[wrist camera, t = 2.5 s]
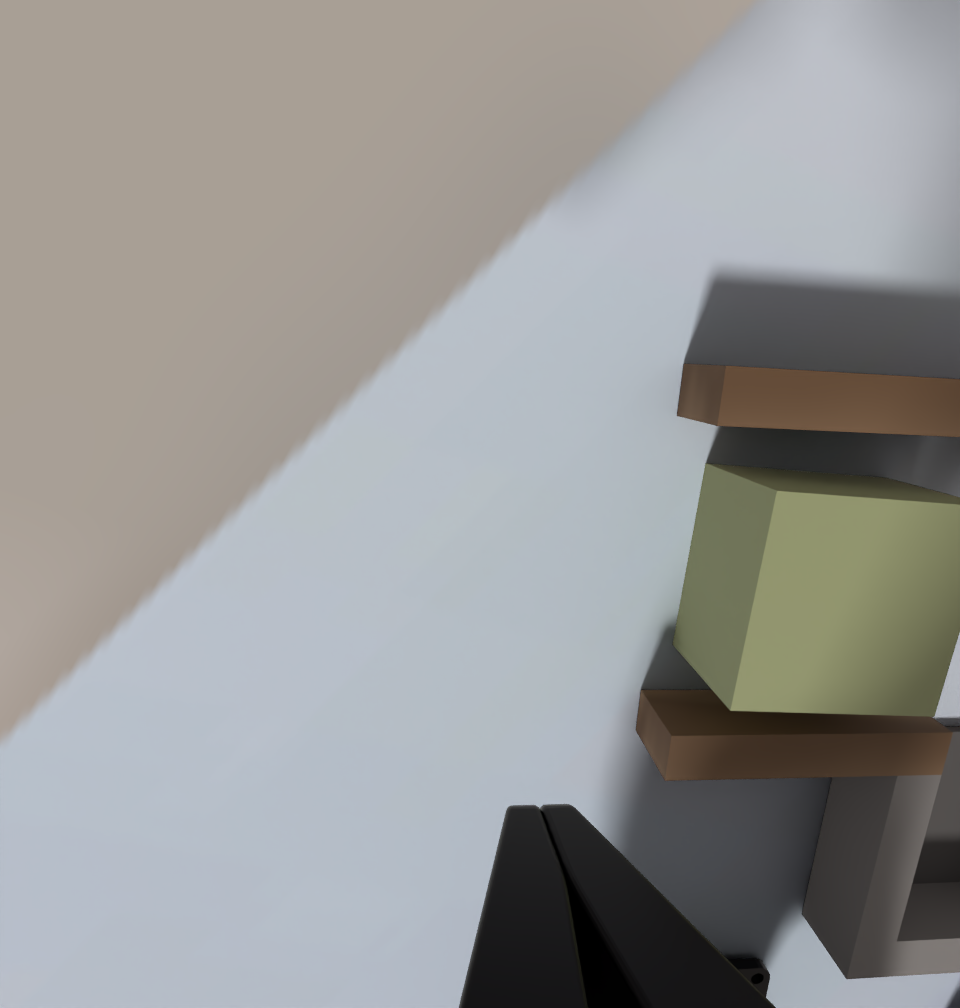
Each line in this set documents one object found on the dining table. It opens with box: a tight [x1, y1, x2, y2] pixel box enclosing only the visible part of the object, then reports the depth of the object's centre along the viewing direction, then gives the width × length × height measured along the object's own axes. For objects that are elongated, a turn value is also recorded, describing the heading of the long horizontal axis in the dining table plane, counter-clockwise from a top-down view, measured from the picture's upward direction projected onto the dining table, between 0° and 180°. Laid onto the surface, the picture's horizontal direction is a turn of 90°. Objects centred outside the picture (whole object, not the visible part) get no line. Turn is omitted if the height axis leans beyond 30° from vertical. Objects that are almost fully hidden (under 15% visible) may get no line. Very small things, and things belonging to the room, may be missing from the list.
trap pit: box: [802, 727, 960, 979], centre depth 22 cm, size 8×8×2 cm
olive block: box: [673, 463, 960, 717], centre depth 18 cm, size 6×6×4 cm
